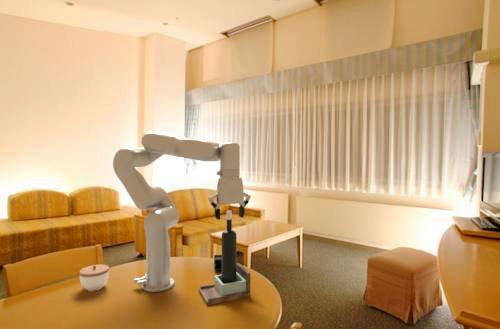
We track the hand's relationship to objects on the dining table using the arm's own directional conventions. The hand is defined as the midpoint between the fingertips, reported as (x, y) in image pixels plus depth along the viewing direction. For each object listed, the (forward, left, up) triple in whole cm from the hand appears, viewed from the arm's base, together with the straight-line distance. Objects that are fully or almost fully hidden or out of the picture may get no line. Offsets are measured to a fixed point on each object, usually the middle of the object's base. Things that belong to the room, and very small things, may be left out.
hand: (229, 218), depth 114 cm
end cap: (+6, +24, -30) cm, 39 cm away
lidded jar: (-49, +26, -30) cm, 63 cm away
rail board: (-2, 0, -30) cm, 30 cm away
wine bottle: (0, 0, -27) cm, 27 cm away
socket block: (0, 0, -28) cm, 28 cm away
